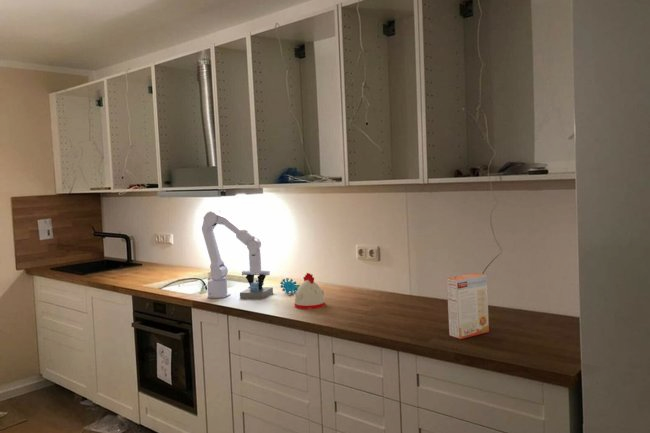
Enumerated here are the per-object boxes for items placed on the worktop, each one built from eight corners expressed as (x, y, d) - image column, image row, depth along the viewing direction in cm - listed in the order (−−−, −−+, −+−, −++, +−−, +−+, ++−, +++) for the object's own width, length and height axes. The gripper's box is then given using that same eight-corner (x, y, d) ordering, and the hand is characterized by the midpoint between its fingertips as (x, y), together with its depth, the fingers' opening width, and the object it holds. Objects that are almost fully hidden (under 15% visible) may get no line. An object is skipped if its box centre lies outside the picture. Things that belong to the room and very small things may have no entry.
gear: (283, 293, 260) (279, 277, 266) (279, 299, 264) (275, 284, 270) (303, 293, 266) (298, 277, 272) (299, 299, 269) (294, 284, 275)
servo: (248, 294, 260) (248, 282, 259) (256, 289, 269) (256, 278, 269) (256, 294, 259) (255, 282, 258) (264, 290, 268) (263, 278, 268)
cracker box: (477, 329, 190) (475, 272, 188) (489, 332, 184) (488, 274, 183) (447, 335, 183) (446, 277, 182) (459, 339, 178) (458, 279, 176)
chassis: (240, 298, 259) (239, 292, 259) (251, 292, 273) (251, 287, 273) (262, 299, 256) (261, 293, 256) (273, 293, 269) (272, 287, 269)
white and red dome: (304, 310, 229) (303, 277, 228) (289, 305, 240) (287, 273, 239) (330, 305, 236) (329, 273, 236) (314, 300, 248) (313, 269, 247)
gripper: (238, 263, 261) (240, 290, 262) (265, 264, 257) (266, 291, 258) (244, 261, 268) (246, 287, 269) (270, 261, 264) (272, 288, 265)
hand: (256, 289), depth 264 cm, fingers closed on servo, 4 cm apart
